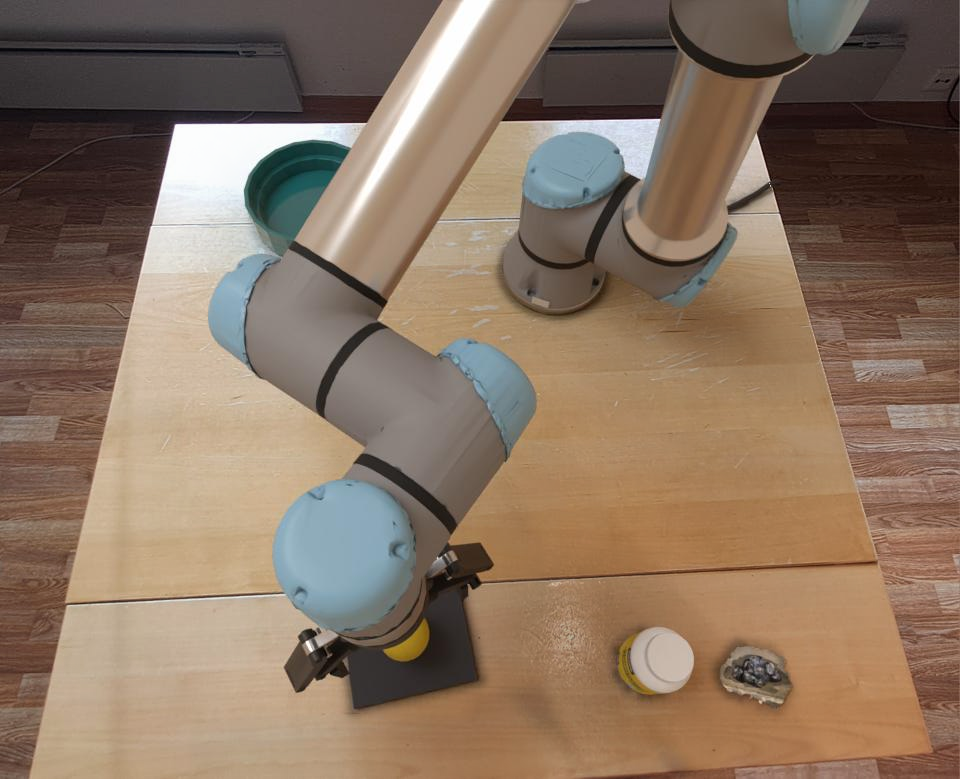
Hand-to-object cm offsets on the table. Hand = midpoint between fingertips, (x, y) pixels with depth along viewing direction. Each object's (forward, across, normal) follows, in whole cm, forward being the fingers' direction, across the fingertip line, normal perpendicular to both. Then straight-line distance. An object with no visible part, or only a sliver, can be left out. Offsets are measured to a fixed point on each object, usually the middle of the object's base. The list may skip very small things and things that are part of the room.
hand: (400, 624), depth 68 cm
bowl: (+13, -19, -62) cm, 66 cm away
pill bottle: (+13, -21, +17) cm, 30 cm away
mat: (+12, 0, 0) cm, 12 cm away
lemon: (+12, 0, 0) cm, 12 cm away
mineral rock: (+13, -31, +25) cm, 42 cm away
